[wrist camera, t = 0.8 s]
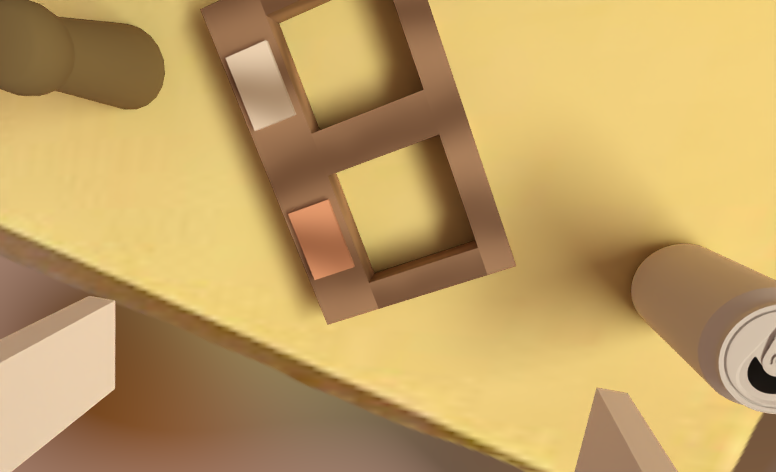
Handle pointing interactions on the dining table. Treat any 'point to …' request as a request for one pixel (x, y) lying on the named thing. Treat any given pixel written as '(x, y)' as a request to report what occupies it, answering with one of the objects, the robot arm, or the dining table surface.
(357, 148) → the caddy
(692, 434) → the dining table surface
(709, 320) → the beverage can
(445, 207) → the dining table surface
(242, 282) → the dining table surface
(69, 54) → the cork
